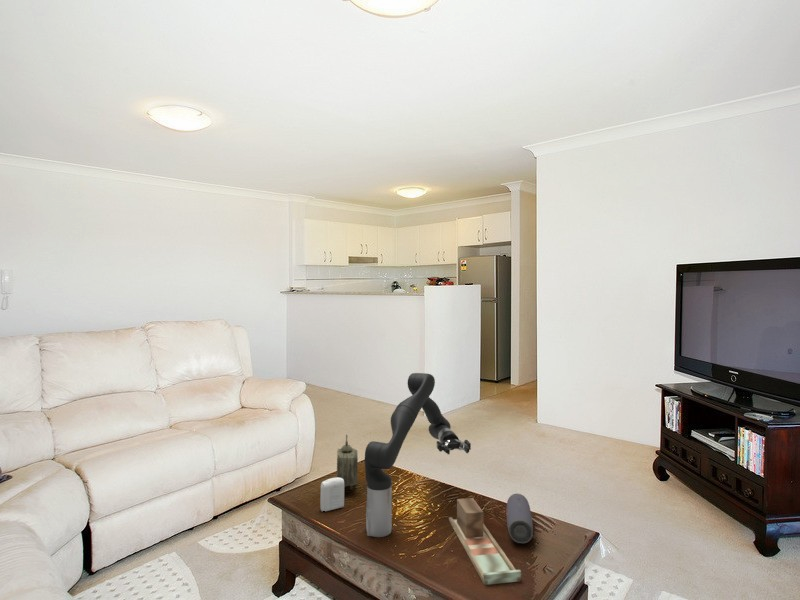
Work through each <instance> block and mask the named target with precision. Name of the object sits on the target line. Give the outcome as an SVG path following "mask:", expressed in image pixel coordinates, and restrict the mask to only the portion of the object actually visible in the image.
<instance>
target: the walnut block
mask: <svg viewBox="0 0 800 600" xmlns="http://www.w3.org/2000/svg"><path fill="white" fill-rule="evenodd" d="M456 520H457V523H458V525H459V527H460V528H461V530H462V532H463V533H464V535H465V537H466V538H472V537H483V523H484V511H483V510H482V508H481V507H480V505H479V504H478V503H477V501H476V500H475V499H474V498H473V497H468V498H457V499H456Z"/></svg>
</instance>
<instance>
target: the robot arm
mask: <svg viewBox="0 0 800 600" xmlns="http://www.w3.org/2000/svg"><path fill="white" fill-rule="evenodd" d="M435 384H436V379H435V377H434V375H432V374H431V373H425V372H421V373H420V372H414V373H411V374H410V375H409V376H408V378H407V388H408V391H409V392H410V394H411V396H408V397H407V398H405V399H404V400H402V401H401V402H399V403H398V405H397V406H396V407H395V409H394V410H393V412H392V414H391V417H390V428H391V431H392V432H391V433H392V437H391V439H390V440H389V442H388V443H387V442H381V441H370V442H368V444H367V445H366V447H365V452H364V472H365V480H366V481H365V482H366V503H365V504H366V505H365V506H366V510H365V514H366V516H365V518H366V519H365V521H366V522H365V524H366V525H365V526H366V527H365V528H366V534H367V537H374V538H384V537H387V536H389V535H391V533H392V525H393V524H392V477H391V476H390V475H389V474H388V473H386V472H385V471H386V470H390V469H392V467H393V466H394V464H395V463H396V461H397V458H398V456H399V453H400V451H401V448H402V446H403V444H404V441H405V439H406V438H407V436H408V434H409V432H410V431H411V428H412V427H413V425H414V423H415V421H416V419H417V417H418V415H419V413H420V411H421V409H422V410H423V412H424V414H425V417H426V419H427V421H428V422H429V423H430V424H429V426H428V432H429V434H430V436H431V437H432V438H434V439H436V449H437V450H438V451H439V452H440V453H441V452H444V453H445V454H447V455H451V452H450V451H454V450H458V451H464V452H465V453H466V454H469V453H470V450H472V447H471V446H472V444H471V442H470V441H469V440H468V439H464V441H462V440H460V438H459V437H458V436H457V434H456V432H454V431H453V430H452V429H451V426H452V425H451V423H450V422H449V420H448V419H447V418H446V417H444V415H443V414H442V412H441V409H440V407H439V405H438V404H437V403H436V402H435V400H433V399H432V398H431V397H430V396H431V394H432V393H433V391H434V388H435V386H436V385H435ZM438 440H439V441H438ZM384 470H385V471H384Z"/></svg>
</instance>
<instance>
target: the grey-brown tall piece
mask: <svg viewBox="0 0 800 600" xmlns="http://www.w3.org/2000/svg"><path fill="white" fill-rule="evenodd" d="M348 443H349V442H348V434H346V435H345V444H344V445H342V446H341V448H337V451H336V453H337V454H336V478H337V477H338V478H342V479H343V480H344V488H345V487H347V486H350V487H349V490H354V486H355V485H356V484H358V481H359V480H358V476H359V475H358V470H359V469H358V468H359V467H358V466H359V464H358V460H359V459H358V458H359V457H358V455H359V454H358V449H356V448H353V447H352V446H351V445H350V444H348Z"/></svg>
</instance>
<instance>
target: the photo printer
mask: <svg viewBox="0 0 800 600" xmlns="http://www.w3.org/2000/svg"><path fill="white" fill-rule="evenodd" d="M319 500H320V501H319V503H320V506H319V507H320V511H321V512H323V511H325V512H329V511H332V510H336V509H337V510H338V509H340V508H344V506H345V487H344V480H343V479H342V478H338V477H337V476H336V477H331V478H327V479H326V480H323V481H322V482H321V483H320V497H319Z"/></svg>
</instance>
